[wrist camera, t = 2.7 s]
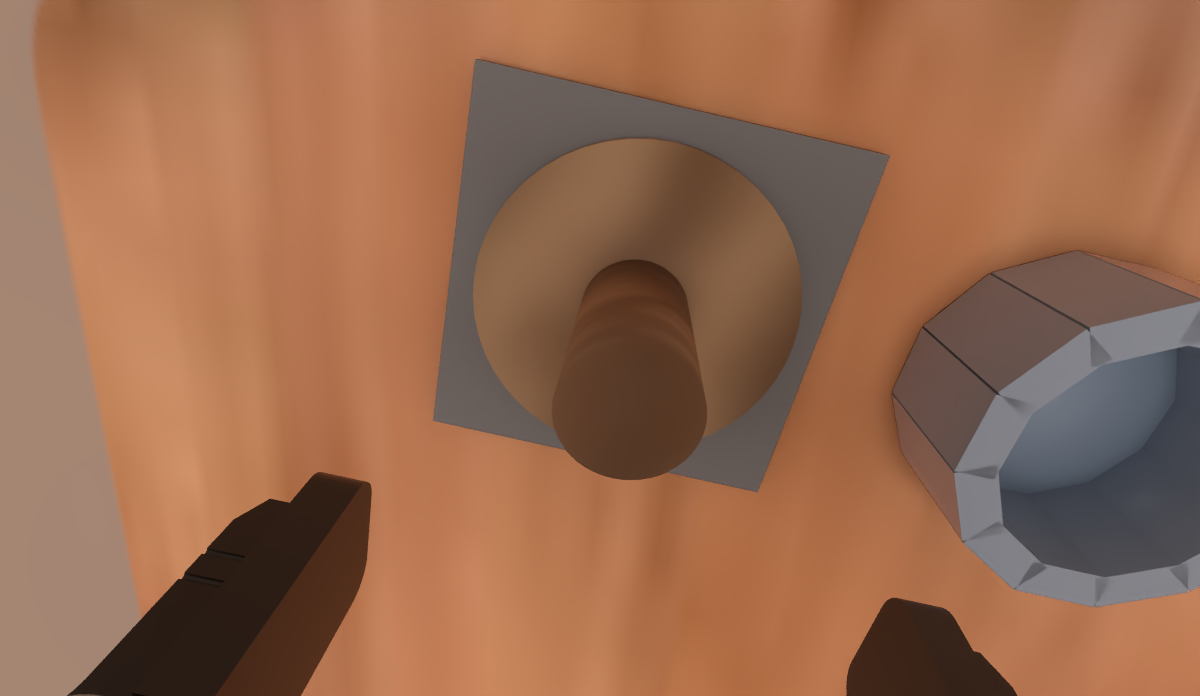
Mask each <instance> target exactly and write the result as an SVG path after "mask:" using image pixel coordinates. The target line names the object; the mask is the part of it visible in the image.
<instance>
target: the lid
mask: <svg viewBox="0 0 1200 696" xmlns="http://www.w3.org/2000/svg"><path fill="white" fill-rule="evenodd" d="M473 305H474V317H475V321H476V326H477V331H478V335H479V338H480V341H481V344H482V347H483V350H484V352H485V355H486V357H487V359H488V361H489V363H490V365H491V366H492V368H493V370H494V372H495V373H496V375H497V376H498V378H499V379H500V381H501V382H502V384H503V385H504V387H505V388H506V389H507V390H508V391H509V392H510V394H511V395H512V396H513V397H514V398H515V399H516V400H517V401H518V402H519V403H520V404H521V405H522V406H523V407H524V408H525V409H526V410H528V411H529V412H530V413H531V414H532V415H534V416H535V417H536V418H538V419H539V420H541V421H542V422H543V423H545V424H546V425H548V426H550V427H552V428H553V429H555V431H556V434H557V436H558V438H559V440H560V442H561V444H562V445H563V447H564V448H565V449H566V451H567V452H568V453H569V454H570V455H571V456H572V457H573V458H574V459H575V460H576V461H577V462H579V463H580V464H582V465H583V466H584V467H586V468H588V469H590V470H591V471H593V472H596V473H598V474H601V475H603V476H607V477H610V478H615V479H622V480H641V479H647V478H652V477H655V476H659V475H661V474H664V473H666V472H669V471H670V470H672V469H674V468H676V467H677V466H679V465H680V464H681V463H683V462H684V461H685V460H686V459H687V458H688V457H689V456H690V455H691V454H692V453H693V452H694V450H695V449H696V448H697V446H698V444H699V443H700V441H701V439H702V438H703V437H706V436H708V435H711V434H713V433H715V432H717V431H718V430H720V429H722V428H724V427H726V426H727V425H729V424H731V423H732V422H734V421H735V420H736V419H738V418H739V417H740V416H742V415H743V414H744V413H746V412H747V411H748V410H749V409H750V408H751V407H752V406H753V405H754V404H756V403H757V402H758V401H759V400H760V399H761V398H762V397H763V395H764V394H765V393H766V392H767V390H768V389H769V388H770V387H771V386H772V384H773V383H774V382H775V380H776V378H777V377H778V375H779V374H780V372H781V371H782V369H783V367H784V366H785V364H786V361H787V359H788V357H789V355H790V353H791V350H792V348H793V345H794V342H795V339H796V335H797V332H798V329H799V323H800V316H801V310H802V282H801V274H800V266H799V262H798V259H797V255H796V252H795V248H794V245H793V243H792V240H791V238H790V236H789V234H788V231H787V229H786V227H785V225H784V223H783V222H782V220H781V218H780V217H779V215H778V214H777V212H776V210H775V209H774V207H773V206H772V205H771V203H770V202H769V201H768V200H767V199H766V198H765V196H764V195H763V194H762V193H761V192H760V191H759V189H758V188H757V187H756V186H755V185H753V184H752V183H751V182H750V181H749V180H748V179H747V178H745V177H744V176H743V175H742V174H741V173H740V172H739V171H738V170H736V169H735V168H733V167H731V166H730V165H728V164H727V163H725V162H724V161H722V160H721V159H719V158H717V157H715V156H713V155H711V154H709V153H707V152H705V151H703V150H700V149H698V148H695V147H692V146H689V145H685V144H682V143H679V142H676V141H670V140H663V139H657V138H638V137H628V138H620V139H611V140H605V141H601V142H597V143H593V144H590V145H586V146H583V147H581V148H578V149H576V150H573V151H571V152H568V153H566V154H564V155H562V156H560V157H559V158H557V159H555V160H554V161H552V162H550V163H548V164H547V165H545V166H544V167H542V168H541V169H540V170H539V171H537V172H536V173H535V174H534V175H532V176H531V177H530V178H528V179H527V180H526V181H525V182H524V183H523V184H522V185H521V186H520V187H519V188H518V189H517V190H516V191H515V192H514V193H513V194H512V195H511V196H510V197H509V198H508V199H507V201H506V202H505V204H504V205H503V206H502V208H501V209H500V211H499V212H498V213H497V215H496V216H495V218H494V220H493V222H492V224H491V225H490V227H489V229H488V231H487V233H486V235H485V238H484V240H483V243H482V246H481V249H480V252H479V254H478V259H477V264H476V268H475V273H474V284H473Z"/></svg>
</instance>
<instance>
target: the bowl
mask: <svg viewBox="0 0 1200 696" xmlns="http://www.w3.org/2000/svg"><path fill="white" fill-rule="evenodd" d="M924 327H925V328H926V329H925V328H921V331H920V333H919V335H918V337H917V339H916V341H915V343H914V346H913V348H912V350H911V352H910V354H909V356H908V358H907V361H906V363H905V365H904V367H903V369H902V371H901V373H900V376H899V378H898V380H897V382H896V384H895V386H894V388H893V391H892V392H893V393H892V399H893V405H894V411H895V418H896V424H897V430H898V437H899V443H900V449H901V452H902V454H903V456H904V457H905V459H906V460H907V462H908V463H909V464H910V466H911V467H912V469H913V470H914V472H915V473H916V475H917V476H918V478H919V479H920V481H921V482H922V483H923V485H924V486H925V488H926V489H927V491H928V492H929V494H930V495H931V497H932V498H933V500H934V501H935V502H936V504H937V505H938V507H939V508H940V510H941V511H942V513H943V514H944V516H945V517H946V519H947V520H948V521H949V523H950V524H951V526H952V527H953V529H954V530H955V532H956V533H957V535H958V536H959V538H960V539H961V540H962V542H963V543H964V544H965V545H966V546H967V547H968V548H969V549H970V550H971V551H972V552H974V553H975V554H976V555H977V556H978V557H979V558H980V559H981V560H982V561H983V562H984V563H985V564H986V565H988V566H989V567H990V568H991V569H992V570H993V571H994V572H995V573H996V574H997V575H998V576H999V577H1001V578H1002V579H1003V580H1004V581H1005V582H1006V583H1007V584H1008V585H1009V586H1010V587H1011V588H1012V589H1015V590H1017V591H1022V592H1026V593H1031V594H1036V595H1040V596H1045V597H1049V598H1054V599H1058V600H1063V601H1068V602H1072V603H1077V604H1081V605H1086V606H1090V607H1094V606H1095V607H1100V606H1106V605H1112V604H1118V603H1125V602H1131V601H1137V600H1143V599H1149V598H1156V597H1162V596H1168V595H1174V594H1180V593H1187V590H1189V591H1192V590H1194V589H1196V588H1198V587H1199V586H1200V285H1199V284H1196V283H1194V282H1191V281H1188V280H1186V279H1183V278H1180V277H1177V276H1175V275H1172V274H1169V273H1167V272H1164V271H1161V270H1158V269H1156V268H1152V267H1148V266H1144V265H1139V264H1135V263H1131V262H1126V261H1122V260H1118V259H1113V258H1109V257H1105V256H1100V255H1096V254H1092V253H1087V252H1083V251H1079V250H1078V251H1072V252H1068V253H1065V254H1061V255H1057V256H1053V257H1049V258H1045V259H1042V260H1038V261H1034V262H1030V263H1026V264H1022V265H1018V266H1015V267H1011V268H1007V269H1003V270H999V271H995V272H992V273H991V275H990V274H988V275H987V276H986V277H984V278H983V279H982V280H980V281H979V282H978V283H977V284H975V285H974V286H973V287H972V288H970V289H969V290H968V291H967V292H965V293H964V294H963V295H962V296H960V297H959V298H958V299H957V300H955V301H954V302H953V303H952V304H950V305H949V306H948V307H947V308H945V309H944V310H943V311H941V312H940V313H939V314H938V315H936V316H935V317H934V318H933V319H931V320H930V321H929V322H928V323H926V324H925V325H924Z"/></svg>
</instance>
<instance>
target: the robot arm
mask: <svg viewBox="0 0 1200 696" xmlns="http://www.w3.org/2000/svg"><path fill="white" fill-rule="evenodd" d="M371 493H372V491H371V485H370V483H368V482H365V481H360V480H355V479H351V478H346V477H342V476H337V475H332V474H328V473H323V472H318V473H316V474H315V475H313V476H312V477H311V478H310V479H309V481H308V482H307V483H306V484H305V485H304V487H303V488H302V489H301V490H300V491H299V493H298V494H297V495H296V496H295V497H294V499H293V500H292V501H291V502H290V503H288V502H283V501H278V500H274V499H269V500H267V501H265V502H264V503H262V504H260V505H258V506H257V507H255V508H253V509H251V510H250V511H248V512H246V513H244V514H243V515H241V516H239V517H237V518H236V519H234V520H233V521H232V522H231V523H230V524H229V525H228V526H227V527H226V528H225V529H224V531H223V532H222V533H221V534H220V535H219V536H218V537H217V538H216V539H215V540H214V541H213V542H212V543H211V545H210V546H209V547H208V548H207V551H206V553H205V554H201V555H200V556H199V557H198V559H197V560H196V561H195V562H194V563H193V564H192V565H191V566H190V567H189V568H188V569H187V570H186V571H185V574H184V576H183V578H182V579H178V580H177V581H176V582H175V583H174V584H173V585H172V586H171V588H170V589H169V590H168V591H167V592H166V593H165V594H164V595H163V596H162V597H161V598H160V599H159V600H158V602H157V603H156V604H155V605H154V606H153V607H152V608H151V609H150V610H149V611H148V612H147V613H146V614H145V616H144V617H143V618H142V619H141V620H140V621H139V622H138V623H137V624H136V626H135V627H133V628H132V630H131V631H130V632H129V633H128V634H127V635H126V636H125V637H124V638H123V639H122V640H121V641H120V643H119V644H118V645H117V646H116V647H115V648H114V649H113V650H112V651H111V652H110V653H109V654H108V655H107V656H106V658H105V659H104V660H103V661H102V662H101V663H100V664H99V665H98V666H97V667H96V668H95V669H94V671H92V673H91V674H90V675H89V676H88V677H87V678H86V679H85V680H84V681H83V682H82V683H81V684H80V685H79V686H78V687H77V688H76V689H75V690H74V691H72V692H71V693H70V694H68V695H67V696H301V694H302V693H303V691H304V689H305V687H306V685H307V684H308V682H309V680H310V678H311V676H312V675H313V673H314V671H315V669H316V668H317V666H318V664H319V662H320V660H321V659H322V657H323V655H324V653H325V651H326V650H327V648H328V646H329V644H330V642H331V641H332V639H333V637H334V635H335V633H336V632H337V630H338V628H339V626H340V624H341V623H342V621H343V619H344V617H345V615H346V614H347V612H348V610H349V608H350V606H351V605H352V603H353V601H354V599H355V597H356V594H357V592H358V590H359V587H360V584H361V581H362V578H363V575H364V571H365V567H366V561H367V551H368V537H369V522H370V508H371ZM846 689H847V696H1017V694H1016V692H1015V691H1014V689H1013V687H1012V686H1011V685H1010V684H1009V683H1008V682H1007V681H1006V680H1005V679H1004V678H1003V677H1002V676H1001V675H1000V674H999V673H998V671H997V670H996V669H995V668H994V667H993V666H992V665H991V664H990V663H989V662H988V661H987V660H986V659H985V658H984V657H983V655H982V654H981V653H979V652H974V651H973V650H972V648H971V646H970V645H969V643H968V641H967V639H966V638H965V636H964V634H963V632H962V631H961V629H960V627H959V625H958V624H957V622H956V620H955V619H954V617H953V616H952V614H951V613H950V612H949V611H947V610H946V609H944V608H941V607H936V606H932V605H927V604H922V603H918V602H913V601H908V600H904V599H899V598H891V599H889V600H887V601H886V602H885V603H884V605H883V606H882V608H881V610H880V612H879V613H878V615H877V617H876V619H875V621H874V622H873V624H872V626H871V628H870V630H869V631H868V633H867V635H866V637H865V639H864V640H863V642H862V644H861V646H860V648H859V649H858V651H857V653H856V655H855V657H854V659H853V660H852V662H851V664H850V667H849V671H848V675H847V686H846Z"/></svg>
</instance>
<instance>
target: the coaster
mask: <svg viewBox="0 0 1200 696" xmlns="http://www.w3.org/2000/svg"><path fill="white" fill-rule="evenodd" d="M628 137H638V138H657V139H663V140H670V141H676V142H679V143H682V144H685V145H689V146H692V147H695V148H698V149H700V150H703V151H705V152H707V153H709V154H711V155H713V156H715V157H717V158H719V159H721V160H722V161H724V162H725V163H727V164H728V165H730V166H731V167H733V168H735V169H736V170H738V171H739V172H740V173H741V174H742V175H743V176H744V177H745V178H747V179H748V180H749V181H750V182H751V183H752V184H753V185H755V186H756V187H757V188H758V189H759V191H760V192H761V193H762V194H763V195H764V196H765V198H766V199H767V200H768V201H769V202H770V203H771V205H772V206H773V207H774V209H775V210H776V212H777V214H778V215H779V217H780V218H781V220H782V222H783V223H784V225H785V227H786V229H787V231H788V234H789V236H790V238H791V240H792V243H793V245H794V248H795V252H796V255H797V259H798V262H799V266H800V274H801V282H802V310H801V316H800V323H799V329H798V332H797V335H796V339H795V342H794V345H793V348H792V350H791V353H790V355H789V357H788V359H787V361H786V364H785V366H784V367H783V369H782V371H781V372H780V374H779V375H778V377H777V378H776V380H775V382H774V383H773V384H772V386H771V387H770V388H769V389H768V390H767V392H766V393H765V394H764V395H763V397H762V398H761V399H760V400H759V401H758V402H757V403H756V404H754V405H753V406H752V407H751V408H750V409H749V410H748V411H747V412H746V413H744V414H743V415H742V416H740V417H739V418H738V419H736V420H735V421H734V422H732V423H731V424H729V425H727V426H726V427H724V428H722V429H720V430H718V431H717V432H715V433H713V434H711V435H708V436H706V437H703V438H702V439H701V441H700V443H699V444H698V446H697V448H696V449H695V450H694V452H693V453H692V454H691V455H690V456H689V457H688V458H687V459H686V460H685V461H684V462H683V463H681V464H680V465H679V466H677V467H676V468H674V469H672V470H670V471H669V472H668V473H673V474H677V475H682V476H686V477H691V478H695V479H700V480H704V481H709V482H714V483H718V484H723V485H727V486H732V487H736V488H741V489H745V490H750V491H754V492H758V490H759V487H760V485H761V482H762V480H763V477H764V475H765V472H766V470H767V467H768V464H769V462H770V459H771V457H772V454H773V452H774V449H775V447H776V444H777V442H778V439H779V436H780V434H781V431H782V429H783V426H784V424H785V421H786V419H787V416H788V414H789V411H790V409H791V406H792V403H793V401H794V398H795V396H796V393H797V391H798V388H799V386H800V383H801V381H802V378H803V375H804V373H805V370H806V368H807V365H808V363H809V360H810V358H811V355H812V353H813V350H814V347H815V345H816V342H817V340H818V337H819V335H820V332H821V330H822V327H823V325H824V322H825V320H826V317H827V314H828V312H829V309H830V307H831V304H832V302H833V299H834V297H835V294H836V292H837V289H838V286H839V284H840V281H841V279H842V276H843V274H844V271H845V269H846V266H847V264H848V261H849V258H850V256H851V253H852V251H853V248H854V246H855V243H856V241H857V238H858V236H859V233H860V231H861V228H862V225H863V223H864V220H865V218H866V215H867V213H868V210H869V208H870V205H871V203H872V200H873V197H874V195H875V192H876V190H877V187H878V185H879V182H880V180H881V177H882V175H883V172H884V169H885V167H886V164H887V162H888V159H889V157H890V156H889V155H885V154H882V153H877V152H873V151H869V150H864V149H860V148H856V147H852V146H847V145H843V144H839V143H835V142H830V141H826V140H822V139H817V138H813V137H809V136H805V135H800V134H796V133H792V132H787V131H783V130H779V129H775V128H770V127H766V126H762V125H757V124H753V123H749V122H745V121H740V120H736V119H732V118H727V117H723V116H719V115H715V114H710V113H706V112H702V111H697V110H693V109H689V108H685V107H680V106H676V105H672V104H668V103H663V102H659V101H655V100H650V99H646V98H642V97H638V96H633V95H629V94H625V93H620V92H616V91H612V90H608V89H603V88H599V87H595V86H590V85H586V84H582V83H578V82H573V81H569V80H565V79H560V78H556V77H552V76H548V75H543V74H539V73H535V72H530V71H526V70H522V69H518V68H513V67H509V66H505V65H501V64H496V63H492V62H488V61H483V60H479V59H475V66H474V75H473V84H472V92H471V101H470V109H469V118H468V126H467V135H466V144H465V152H464V161H463V169H462V178H461V186H460V195H459V204H458V212H457V221H456V229H455V238H454V246H453V255H452V264H451V272H450V281H449V289H448V298H447V306H446V315H445V324H444V332H443V341H442V349H441V358H440V366H439V375H438V384H437V392H436V401H435V409H434V418H433V421H437V422H442V423H446V424H451V425H455V426H460V427H464V428H469V429H473V430H478V431H482V432H487V433H491V434H496V435H501V436H505V437H510V438H514V439H519V440H523V441H528V442H532V443H537V444H541V445H546V446H550V447H555V448H559V449H564V450H566V449H565V448H564V447H563V445H562V444H561V442H560V440H559V438H558V436H557V434H556V431H555V429H553V428H552V427H550V426H548V425H546V424H545V423H543V422H542V421H541V420H539V419H538V418H536V417H535V416H534V415H532V414H531V413H530V412H529V411H528V410H526V409H525V408H524V407H523V406H522V405H521V404H520V403H519V402H518V401H517V400H516V399H515V398H514V397H513V396H512V395H511V394H510V392H509V391H508V390H507V389H506V388H505V387H504V385H503V384H502V382H501V381H500V379H499V378H498V376H497V375H496V373H495V372H494V370H493V368H492V366H491V365H490V363H489V361H488V359H487V357H486V355H485V352H484V350H483V347H482V344H481V341H480V338H479V335H478V331H477V326H476V321H475V317H474V305H473V284H474V273H475V268H476V264H477V259H478V254H479V252H480V249H481V246H482V243H483V240H484V238H485V235H486V233H487V231H488V229H489V227H490V225H491V224H492V222H493V220H494V218H495V216H496V215H497V213H498V212H499V211H500V209H501V208H502V206H503V205H504V204H505V202H506V201H507V199H508V198H509V197H510V196H511V195H512V194H513V193H514V192H515V191H516V190H517V189H518V188H519V187H520V186H521V185H522V184H523V183H524V182H525V181H526V180H527V179H528V178H530V177H531V176H532V175H534V174H535V173H536V172H537V171H539V170H540V169H541V168H542V167H544V166H545V165H547V164H548V163H550V162H552V161H554V160H555V159H557V158H559V157H560V156H562V155H564V154H566V153H568V152H571V151H573V150H576V149H578V148H581V147H583V146H586V145H590V144H593V143H597V142H601V141H605V140H611V139H620V138H628Z"/></svg>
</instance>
